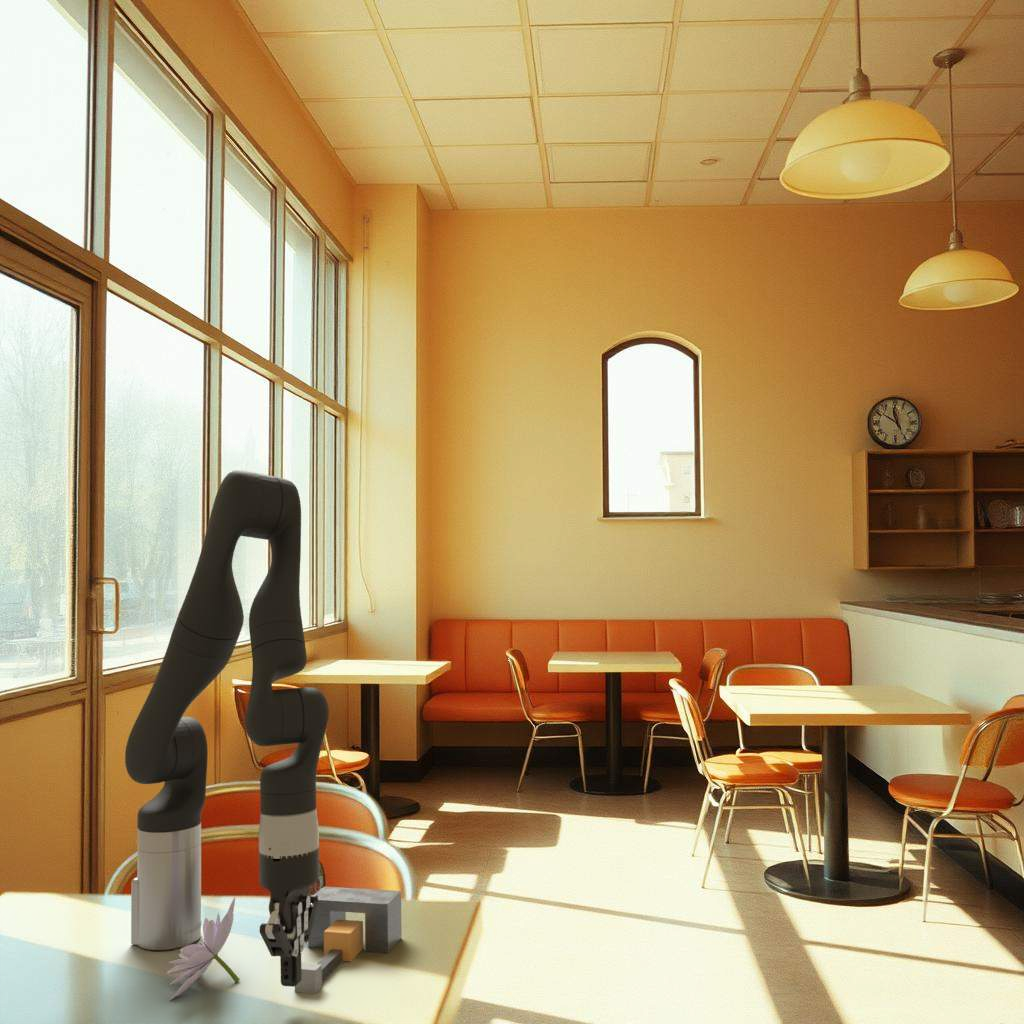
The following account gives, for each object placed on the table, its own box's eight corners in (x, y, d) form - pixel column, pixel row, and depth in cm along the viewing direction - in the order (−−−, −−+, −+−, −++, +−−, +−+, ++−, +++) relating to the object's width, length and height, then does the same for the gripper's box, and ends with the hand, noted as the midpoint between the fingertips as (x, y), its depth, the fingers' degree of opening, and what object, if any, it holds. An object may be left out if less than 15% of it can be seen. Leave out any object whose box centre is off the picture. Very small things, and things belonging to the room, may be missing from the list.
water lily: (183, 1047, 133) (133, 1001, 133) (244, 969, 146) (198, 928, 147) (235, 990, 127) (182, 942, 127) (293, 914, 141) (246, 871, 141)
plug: (291, 991, 133) (291, 960, 134) (337, 946, 149) (337, 919, 149) (319, 993, 133) (319, 962, 133) (363, 948, 148) (362, 921, 148)
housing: (308, 947, 149) (307, 899, 149) (324, 932, 155) (324, 886, 155) (388, 953, 146) (387, 904, 146) (401, 938, 152) (401, 891, 152)
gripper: (284, 831, 136) (286, 962, 135) (237, 859, 123) (239, 1004, 122) (336, 833, 135) (338, 965, 134) (294, 861, 122) (296, 1008, 121)
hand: (291, 983), depth 128 cm, fingers closed
